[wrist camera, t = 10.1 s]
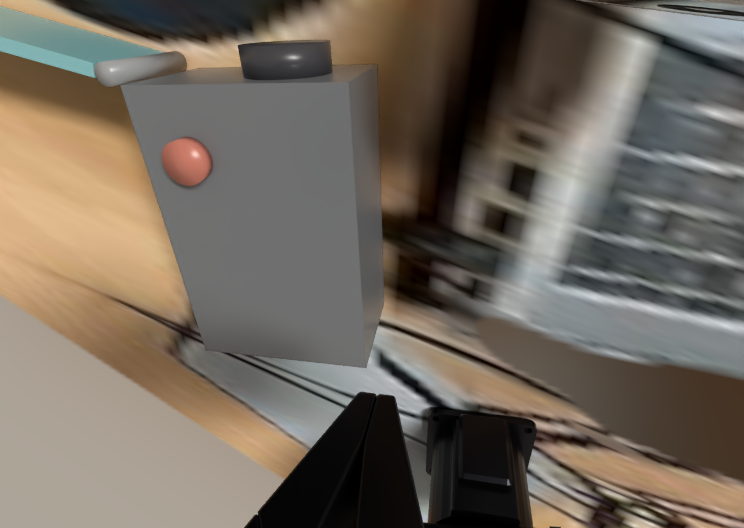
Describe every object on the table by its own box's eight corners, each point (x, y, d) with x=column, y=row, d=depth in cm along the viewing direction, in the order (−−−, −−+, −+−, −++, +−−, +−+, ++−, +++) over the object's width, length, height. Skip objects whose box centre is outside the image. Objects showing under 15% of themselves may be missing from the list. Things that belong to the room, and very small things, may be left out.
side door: (186, 41, 18) (112, 49, 14) (186, 73, 18) (117, 89, 15) (-63, -28, 18) (-197, -38, 14) (-53, 6, 19) (-178, 5, 15)
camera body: (384, 303, 23) (363, 377, 18) (247, 291, 25) (196, 358, 20) (376, 36, 16) (341, 46, 12) (189, 42, 18) (92, 54, 13)
